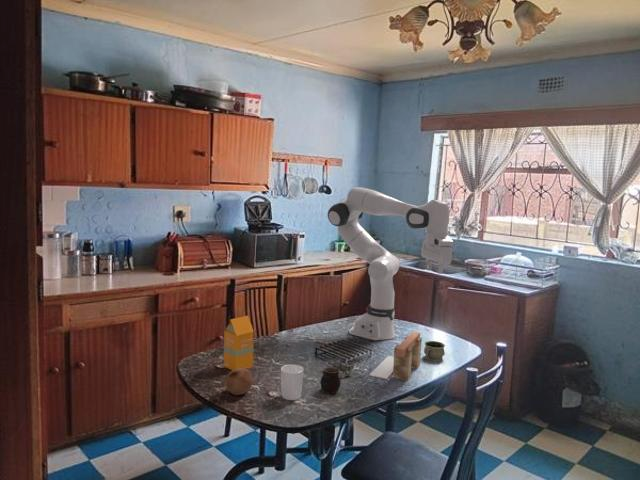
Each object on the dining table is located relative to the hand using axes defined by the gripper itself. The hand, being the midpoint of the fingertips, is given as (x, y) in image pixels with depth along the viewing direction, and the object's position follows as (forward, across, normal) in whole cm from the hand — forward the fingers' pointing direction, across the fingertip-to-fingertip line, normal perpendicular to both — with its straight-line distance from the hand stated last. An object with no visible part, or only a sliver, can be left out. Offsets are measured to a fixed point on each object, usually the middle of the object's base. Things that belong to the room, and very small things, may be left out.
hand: (434, 271), depth 216 cm
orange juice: (+38, -3, -81) cm, 90 cm away
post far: (+38, +8, -12) cm, 40 cm away
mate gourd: (+38, +25, -52) cm, 69 cm away
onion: (+38, +21, -84) cm, 95 cm away
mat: (+38, +8, -22) cm, 45 cm away
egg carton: (+38, +10, -44) cm, 59 cm away
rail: (+28, +13, -16) cm, 35 cm away
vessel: (+38, +1, +2) cm, 38 cm away
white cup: (+38, +27, -66) cm, 81 cm away
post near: (+38, +19, -21) cm, 47 cm away
